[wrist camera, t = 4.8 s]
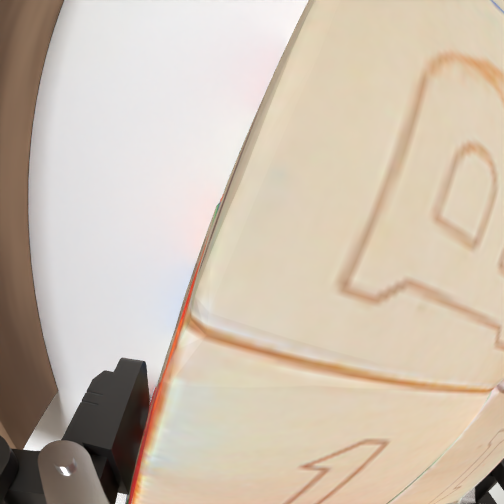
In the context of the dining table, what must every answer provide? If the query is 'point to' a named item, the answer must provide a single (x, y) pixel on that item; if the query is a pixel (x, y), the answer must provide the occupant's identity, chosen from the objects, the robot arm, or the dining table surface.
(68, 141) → the dining table surface
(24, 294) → the walnut block
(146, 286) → the dining table surface
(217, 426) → the stack of blocks
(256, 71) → the dining table surface
